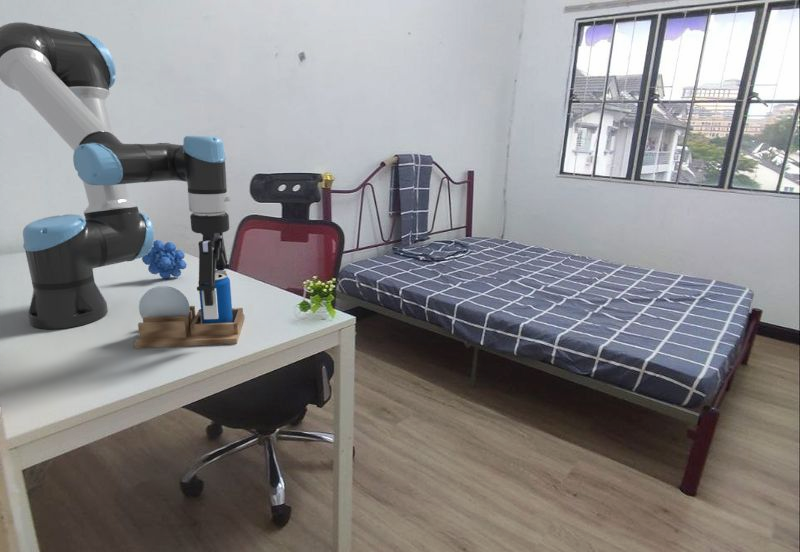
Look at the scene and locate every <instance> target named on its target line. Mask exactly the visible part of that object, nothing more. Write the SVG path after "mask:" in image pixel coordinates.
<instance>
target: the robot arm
mask: <svg viewBox="0 0 800 552" xmlns="http://www.w3.org/2000/svg"><path fill="white" fill-rule="evenodd" d="M114 61H115V60H114V57H113V55H112V53H111V52H110V50H109V49H108V47H107V46H106V45H105V44H104V43H103V42H102V41H101V40H99V38H97V37H95V36H92V35H88V34H84V33H82V32H79V31H69V30H64V29H61V28H60V29H59V28H55V27H49V26H43V25H40V24H39V25H37V24H34V23H28V22H22V21H21V22H19V21H18V22H17V21H16V22H11V23H10V22H9V23H7V24H3V25H2V26H0V81H1V82H2V83H3V84H4V85H5V86H6V87H8V88H9V89H11V90H14V91H18V92H19V93H20V95H22V97H23V99H25V100H27V102H28V103H29V104H30V106H32V107H33V108H34V110H35V111H37V113H38V114H39V115H40V116H41V117H42V118H43V119H44V120H45V122H46V123H48V124H49V125H50V128H52V129H53V130H54V131H55V132H56V133H57V134H58V136H60V138H61V139H63V141H64V142H65V143H66V144H67V145H68V146H69V147H70V148H71V150H73V157H72V160H73V161H72V162H73V166H74V170H76V171H77V176H78V177H79V179H80V180H81V181H82V183H83V186H84V191H85V194H86V200H87V203H88V205H87V207H86V208H85V210H84V211H83V216H82V215H80V214H63V215H52V216H48V217H44V218H39V219H37V220H34V221H31V222H29V223H28V224H26V225H25V227H24V228H23V230H22V237H23V238H22V239H23V249H24V251H25V256H26V261H27V265H28V270H29V275H30V280H31V284H32V288H33V289H32V290H33V291H32V295H31V300H30V305H29V310H28V319H29V323H30V326H32V327H34V328H36V329H44V330H45V329H46V330H60V329H68V328H75V327H80V326H83V325H84V326H85V325H87V324H91V323H94V322H95V321H98V320H100V319H102V318H104V317H105V316H106V315H107V314H108V311H109V310H108V309H109V308H108V303H107V301H106V299H105V298H104V296H103V294H102V292H101V290H100V289H99V287H98V285H97V284H96V282H95V277H94V269H97V268H101V267H102V268H103V267H106V266H111V265H114V264H115V265H116V264H120V263H124V262H133V261H135V260H137V259H138V260H139V259H140V258H141V259H142V257H144V256H146V255H147V254H148V253H149V252H150V251H151V248H152V247H153V244H154V241H155V228H154V226H153V223H152V220H150V218H149V216H148V215H147V214H145V213H144V212H140V211H139V207H138V205H137V204H135V203H134V202H133V201H131V200H130V198H129V195H128V191H127V187H126V185H127V184H129V185H130V184H138V183H139V184H140V183H153V182H154V183H155V182H156V183H157V182H167V181H170V182H171V181H178V182H179V181H180V182H185V183H186V184H187V195H188V196H187V197H188V207H189V211H190V212H191V214H190V215H189V216H190V217H189V218H190V228H191V231H192V232H193V233H196V234H201V235H202V240H200V241H199V242H198V244H197V245H198V253H199V254H198V255H199V256H198V257H199V258H198V282H199V284H198V286H196V290H197V292H199V291H202V301H203V312H204V319H218V306H217V294H216V289H215V273H216V272H224V273H226V274H227V275H228V273H227V270H230V268H231V267H230V263H228V262H229V261H228V258H227V252H226V251H227V250H226V247H225V242H224V241H225V240H224V233H226V232H228V231H229V230H230V218H229V217H230V216H229V214H228V213H227V211H228V210H229V205H228V202H231V198H230V196H227V193H228V192H227V191H228V190H227V189H228V187H227V186H228V185H227V175H226V174H227V172H226V171H227V169H226V156H225V147H224V142H223V140H222V139H221V138H220V137H218V136H208V135H205V136H204V135H186V136H184V138H183V142H182V143H183V144H174V143H170V142H156V143H123V142H121V141H120V140H119V139H118V138H117V136H115V135H114V134H113V133H114V132H113V130H112V126H111V122H110V118H109V113H108V110H107V109H108V108H107V105H106V99H107V98H108V97H109V95H111V91H110V88H112V87H113V86H114V84H115V81H116V77H115V76H116V74H117V73H116V72H117V71H116V65H115V62H114ZM205 283H209V284H205Z"/></svg>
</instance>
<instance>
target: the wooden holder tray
mask: <svg viewBox="0 0 800 552" xmlns="http://www.w3.org/2000/svg"><path fill="white" fill-rule="evenodd" d="M189 306H190V311H189V315H188V316H163V317H144V318H142V322H138V324H137V327H138V335H139V337H138V338H137V340H135V342H134V345H135V349H143V348H144V349H147V348H149V349H150V348H171V347H189V346H190V347H192V346H194V347H195V346H212V345H232V344H233V345H235V344H238V342H239V338H240V335H241V332H242V328H243V326H244V322H245V318H246V317H245V313H244V311H243V310H244V309H243V307H232V316H233V323H206V324H202V315H201V308H199V309H198V311H197V313H196V306H195V305H189Z"/></svg>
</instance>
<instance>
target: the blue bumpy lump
mask: <svg viewBox="0 0 800 552" xmlns="http://www.w3.org/2000/svg"><path fill="white" fill-rule="evenodd" d="M185 256H186V255H185V252H184V251H182V250H181V249H177V246H176V244H175V243H173V242H171V241H167V242H166V243H164V242H163V241H162V240H159V239H155V240H154V244H153V247H152V248H151V251H150V252H149V253H148V254H147V255H146V256H144V257H141V261H142V263H144V264H145V266H146V265H147V266H148V268H147V269H148V272H149V273H150V274H152V275H157V274H159V276H160V277H161V278H162V279H165V280H168V279H169V278H171V276H173V277H174V278H178V277H180V276H181V275H182V271H181V270H184V269H186V268H187V266H188V265H187V263H186V261H185V260H184V259H185Z"/></svg>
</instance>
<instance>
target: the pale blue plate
mask: <svg viewBox="0 0 800 552" xmlns="http://www.w3.org/2000/svg"><path fill="white" fill-rule="evenodd" d="M190 306H191V305H190V303H189V300H188V298H187V297H186V296H185V294H184V293H183V292H181V291H180V290H179V289H177V288H175V287H173V286H168V285H158V286H154V287H152V288H150V289H149V290H147V291H146V292H144V294H143V295H142V296H141V298H140V300H139V304H138V310H139V311H138V312H139V314H140V317H141V319H143V318H144V317H163V316H188V315H189V311H190Z"/></svg>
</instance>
